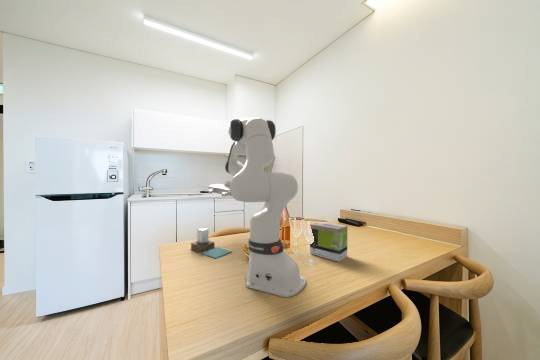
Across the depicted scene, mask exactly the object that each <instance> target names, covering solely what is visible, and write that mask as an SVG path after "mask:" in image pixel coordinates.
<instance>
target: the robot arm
mask: <svg viewBox="0 0 540 360" xmlns="http://www.w3.org/2000/svg"><path fill="white" fill-rule="evenodd" d="M227 131H228V135H229V138H230V140H232V142H233V143H232V145H231V146H230V148H229V154H228V158H227V161H226V163H225V166H224V167H225V169H224V170H225V171H226V173H228V174H230V175H231V176H232V179H231V180H228V181H225V182H224V183H223V184H221V183H214V184H210V185H209V186H208V194H210V195H212V194H213V193H214V194H218V195H221V197H223V198H225V197H232V198H233V199H234V200H235V201H238V202H243V203H264V205H263V207H262V208H261V209H260V210H259V211H257V212H255V213H254V214H253V215H252V216H251V218H250V220H249V237H248V238H249V239H248V250H249V254H248V256H249V257H248V263H247V268H246V272H245V275H244V278H245V280H246V284H245V286H246V287H247V288H250V289H253V290H257V291H259V292H260V291H261V292H264V293H269V294H272V295H275V296H280V297H283V298H289V297H292V296H296V294H298V293H301V291H302V290H303V289H304V288H305V286H306V284H307V279H306V276H303V275H301V273H300V268H299V265H298V262H296V261H295V259H293V258H292V257H291V256H290V255H289V254H288V253H287V252H286V250H285V249H284V247H286V244H287V243H286V242H282V240H281V238H280V231H281V230H280V229H281V219H282V214H283V212H284V210H285V208H286V206H287V205H288V204H289V202H290V201H291V200H293V199H294V198H295V197H296V195H297V193H298V191H299V190H298V189H299V185H298V181H297V178H296V177H295V176H294V175H292V174H289V173H285V172H268V171H267V172H266V171H264V170H263V169H264V168H266V167H268V166H270V165H271V164H272V163H273V161H274V160H275V149H274V144H273V140H275V137H276V133H277V132H276V131H277V130H276V125H275V123H274V121H273V120H270V119H264V118H261V117H244V118H239V117H236V118H232V119H231V120H230V121H229V124H228V129H227ZM239 155H241V156H245V157H246V158H245V163H242V162H240V160H238V157H239Z"/></svg>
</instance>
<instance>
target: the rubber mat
mask: <svg viewBox="0 0 540 360" xmlns="http://www.w3.org/2000/svg"><path fill="white" fill-rule="evenodd" d="M231 253H232V250H228V249H226V248H222V247H219V246H216V247H214V248H212V249H209V250H206V251H203V252H201V254H202V255H204V256H207V257H210V258H211V259H212V258H213V259H218V258H221V257H224V256H226V255H228V254H231Z"/></svg>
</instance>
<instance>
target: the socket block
mask: <svg viewBox="0 0 540 360" xmlns="http://www.w3.org/2000/svg"><path fill="white" fill-rule="evenodd" d="M214 248H215V241H212V240H209V239H208V243H206V244H203V245H200V244H197V241H193V242H191V243H190V249H191V250H193V251H196V252H199V253H203V252H205V251H208V250H211V249H214Z"/></svg>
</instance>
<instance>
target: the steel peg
mask: <svg viewBox="0 0 540 360" xmlns="http://www.w3.org/2000/svg"><path fill="white" fill-rule="evenodd" d="M209 230H210V229H209V228H206V227H202V228H198V229H196V234H197V235H196V242H197V244H200V245H203V244H206V243H208V240H209Z"/></svg>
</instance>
